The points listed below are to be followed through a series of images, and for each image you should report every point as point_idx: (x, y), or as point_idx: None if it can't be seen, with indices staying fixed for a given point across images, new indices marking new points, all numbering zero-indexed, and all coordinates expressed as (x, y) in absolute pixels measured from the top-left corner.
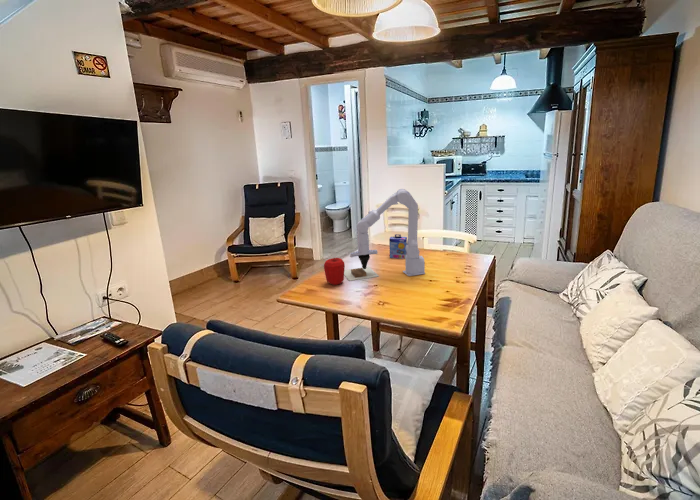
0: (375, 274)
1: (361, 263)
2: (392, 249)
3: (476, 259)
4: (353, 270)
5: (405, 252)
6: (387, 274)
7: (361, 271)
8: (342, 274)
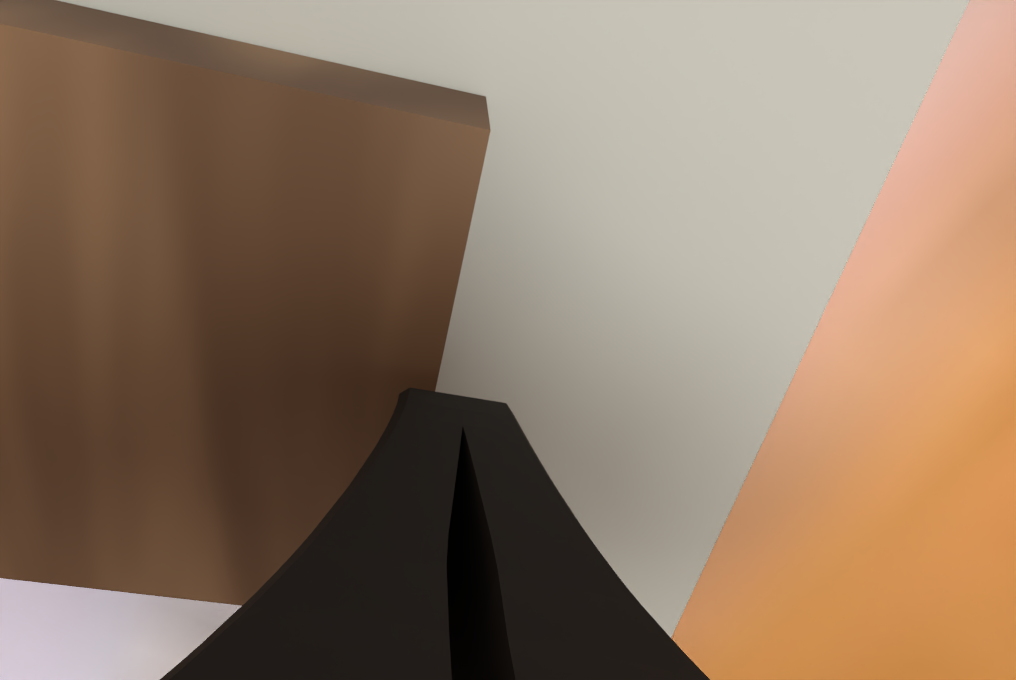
0: (666, 546)
1: (340, 510)
2: None
3: None
4: (2, 227)
5: None
6: (916, 600)
7: (279, 487)
8: None
